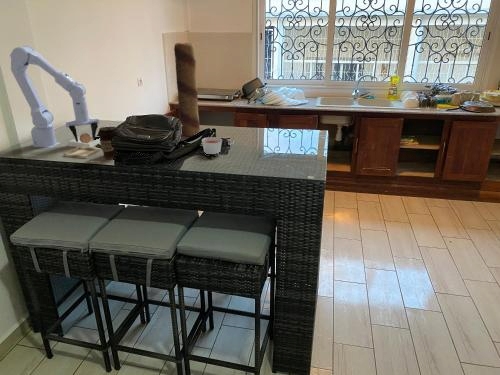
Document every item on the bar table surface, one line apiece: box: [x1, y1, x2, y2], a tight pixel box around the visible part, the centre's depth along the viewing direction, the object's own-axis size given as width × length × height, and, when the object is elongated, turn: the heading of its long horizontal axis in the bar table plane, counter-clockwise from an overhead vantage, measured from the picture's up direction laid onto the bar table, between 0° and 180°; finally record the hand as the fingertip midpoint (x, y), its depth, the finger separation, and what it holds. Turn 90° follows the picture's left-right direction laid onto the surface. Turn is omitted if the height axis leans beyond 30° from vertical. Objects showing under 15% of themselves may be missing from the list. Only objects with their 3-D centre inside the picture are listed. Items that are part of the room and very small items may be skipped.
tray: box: [63, 146, 102, 159], centre depth 173 cm, size 11×11×2 cm
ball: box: [79, 132, 92, 143], centre depth 185 cm, size 5×5×5 cm
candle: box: [201, 136, 223, 155], centre depth 176 cm, size 9×9×6 cm
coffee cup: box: [97, 126, 120, 160], centre depth 168 cm, size 9×8×13 cm
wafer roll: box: [173, 42, 201, 137], centre depth 196 cm, size 10×11×45 cm
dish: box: [67, 135, 100, 148], centre depth 186 cm, size 11×11×2 cm
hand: (85, 140), depth 185 cm, fingers open, 7 cm apart
